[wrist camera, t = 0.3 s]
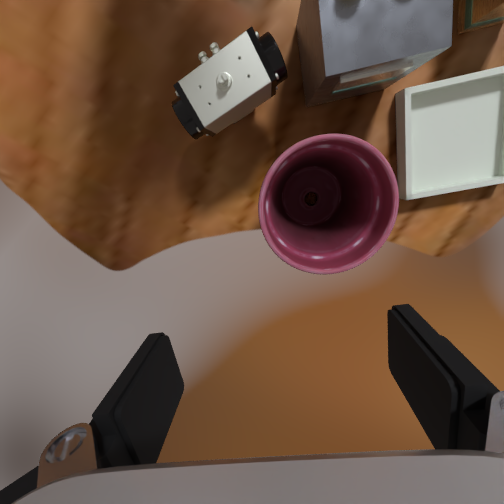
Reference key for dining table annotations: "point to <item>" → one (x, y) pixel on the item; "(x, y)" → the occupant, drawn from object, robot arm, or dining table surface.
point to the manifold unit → (367, 43)
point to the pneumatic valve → (229, 83)
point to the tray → (450, 134)
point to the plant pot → (328, 203)
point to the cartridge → (479, 14)
